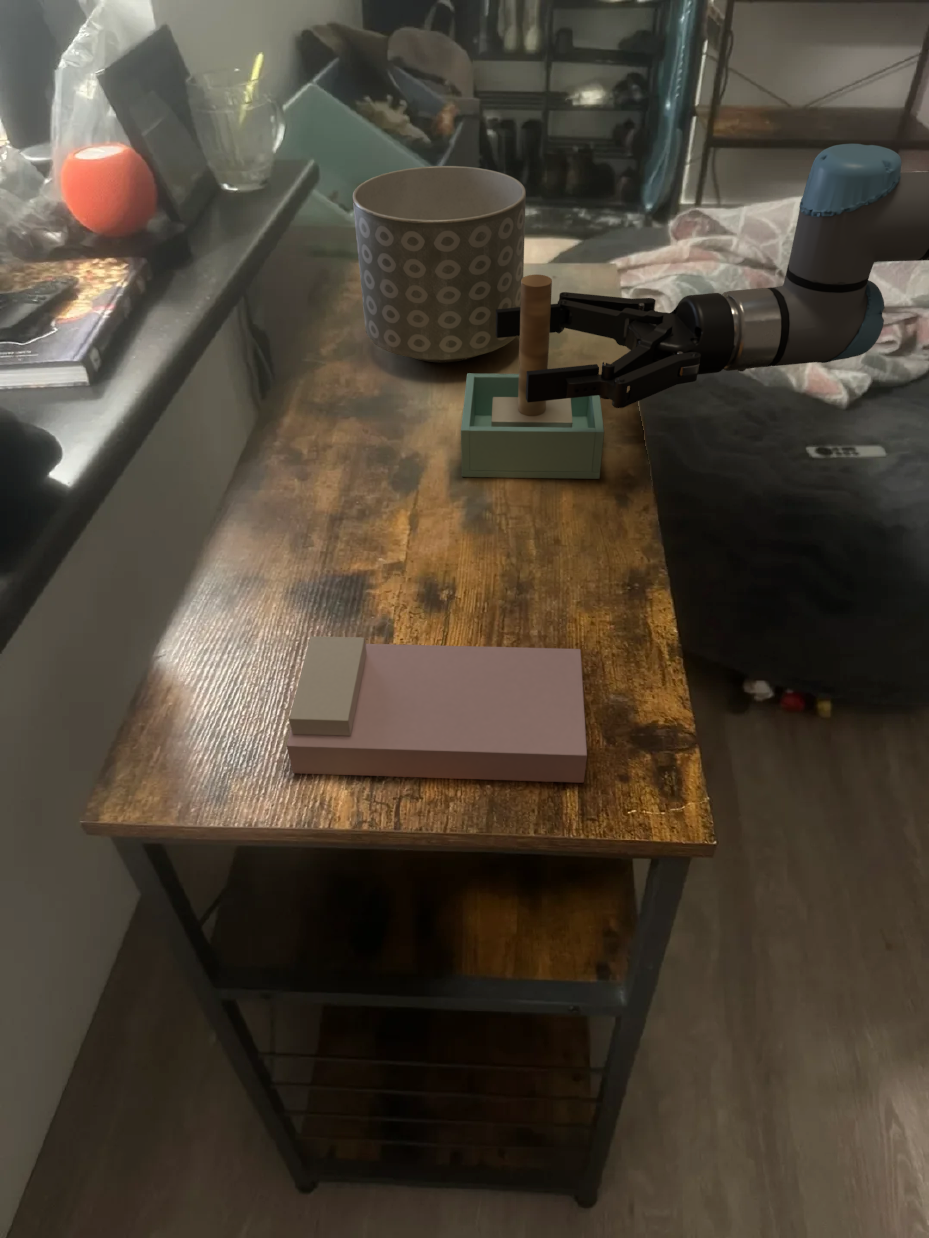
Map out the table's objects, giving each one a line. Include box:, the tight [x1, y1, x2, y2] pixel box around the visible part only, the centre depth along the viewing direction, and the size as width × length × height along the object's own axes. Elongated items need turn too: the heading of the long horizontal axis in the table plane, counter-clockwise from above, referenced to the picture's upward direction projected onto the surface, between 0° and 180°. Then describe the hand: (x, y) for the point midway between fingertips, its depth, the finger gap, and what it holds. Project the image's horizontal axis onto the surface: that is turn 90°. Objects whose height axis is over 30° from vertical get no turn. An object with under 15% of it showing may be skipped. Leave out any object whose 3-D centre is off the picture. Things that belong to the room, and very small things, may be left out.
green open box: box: [460, 372, 605, 480], centre depth 90 cm, size 14×12×5 cm
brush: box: [491, 274, 573, 428], centre depth 85 cm, size 8×5×17 cm, turn 87°
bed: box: [286, 635, 588, 784], centre depth 62 cm, size 20×10×5 cm, turn 87°
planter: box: [352, 165, 527, 364], centre depth 103 cm, size 19×19×18 cm
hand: (510, 353), depth 84 cm, fingers open, 13 cm apart
